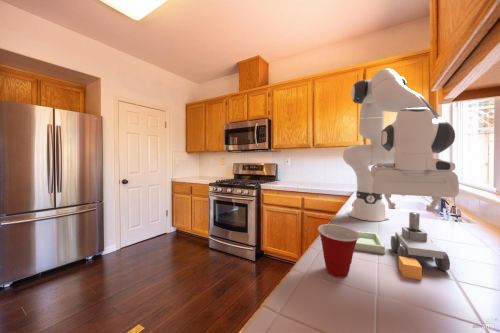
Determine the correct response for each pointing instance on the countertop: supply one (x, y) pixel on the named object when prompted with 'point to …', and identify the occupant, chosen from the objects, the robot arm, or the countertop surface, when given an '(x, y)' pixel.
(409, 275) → the chock
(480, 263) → the countertop surface
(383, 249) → the tray
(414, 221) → the pin
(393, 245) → the cart
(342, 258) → the plastic cup
